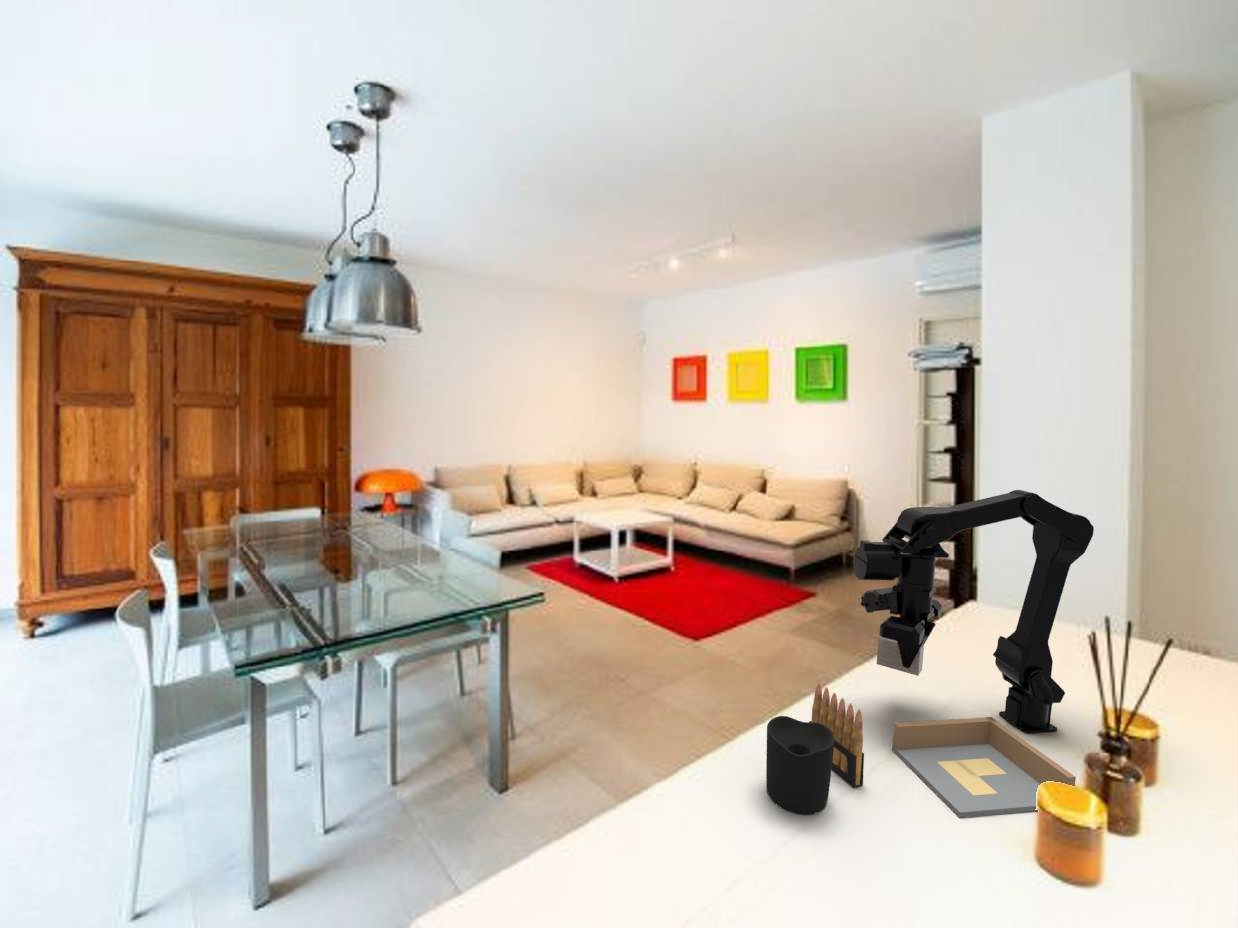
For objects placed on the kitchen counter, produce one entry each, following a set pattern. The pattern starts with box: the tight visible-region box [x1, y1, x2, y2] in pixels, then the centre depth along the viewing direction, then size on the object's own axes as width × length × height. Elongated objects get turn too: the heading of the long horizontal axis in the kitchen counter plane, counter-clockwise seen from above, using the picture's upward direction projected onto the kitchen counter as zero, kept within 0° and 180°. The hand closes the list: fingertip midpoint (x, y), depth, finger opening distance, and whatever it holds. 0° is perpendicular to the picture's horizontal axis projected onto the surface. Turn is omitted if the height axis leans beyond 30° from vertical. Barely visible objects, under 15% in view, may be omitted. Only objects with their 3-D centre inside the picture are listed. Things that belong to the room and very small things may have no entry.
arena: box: [891, 716, 1077, 819], centre depth 92 cm, size 18×16×5 cm
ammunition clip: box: [808, 682, 865, 789], centre depth 94 cm, size 11×2×12 cm, turn 22°
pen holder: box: [765, 715, 835, 816], centre depth 86 cm, size 9×9×10 cm
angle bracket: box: [876, 635, 925, 676], centre depth 109 cm, size 7×8×5 cm
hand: (908, 663), depth 106 cm, fingers closed on angle bracket, 3 cm apart
